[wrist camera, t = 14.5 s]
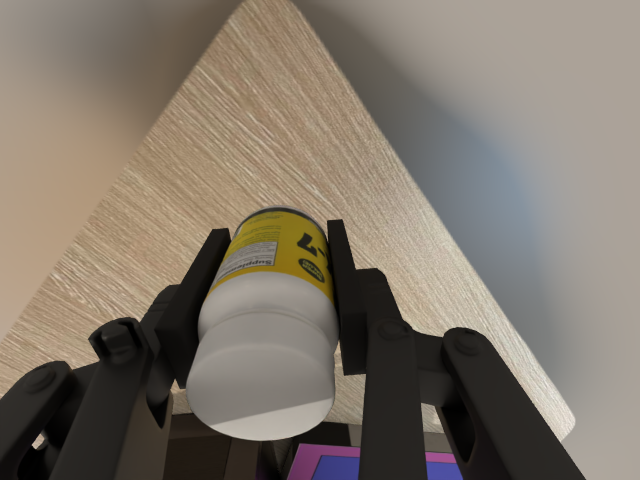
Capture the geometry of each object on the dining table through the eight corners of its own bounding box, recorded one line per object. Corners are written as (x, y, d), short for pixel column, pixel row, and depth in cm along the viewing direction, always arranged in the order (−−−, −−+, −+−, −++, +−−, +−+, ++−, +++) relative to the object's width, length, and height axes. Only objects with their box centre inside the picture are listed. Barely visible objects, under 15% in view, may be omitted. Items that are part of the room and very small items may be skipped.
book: (447, 526, 52) (271, 522, 47) (440, 505, 55) (273, 499, 50) (509, 457, 43) (299, 443, 38) (497, 435, 45) (299, 419, 40)
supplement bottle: (340, 267, 16) (371, 427, 9) (260, 294, 17) (226, 465, 10) (307, 187, 14) (311, 310, 7) (216, 221, 15) (128, 369, 7)
